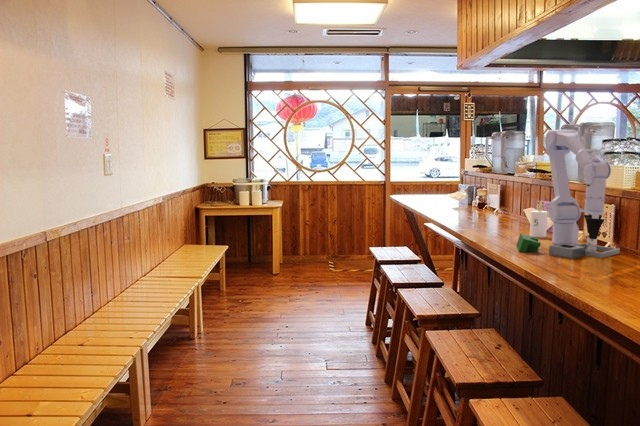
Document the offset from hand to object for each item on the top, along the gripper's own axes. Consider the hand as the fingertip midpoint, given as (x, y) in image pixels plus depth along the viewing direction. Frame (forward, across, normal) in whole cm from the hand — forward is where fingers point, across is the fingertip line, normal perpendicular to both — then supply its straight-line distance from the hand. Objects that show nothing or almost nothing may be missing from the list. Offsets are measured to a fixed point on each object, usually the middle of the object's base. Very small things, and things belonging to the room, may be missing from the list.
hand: (592, 236), depth 170 cm
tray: (+6, 0, 0) cm, 6 cm away
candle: (+7, -33, -18) cm, 38 cm away
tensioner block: (+6, +8, -8) cm, 13 cm away
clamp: (+7, +4, -20) cm, 21 cm away
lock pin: (+6, 0, 0) cm, 6 cm away
